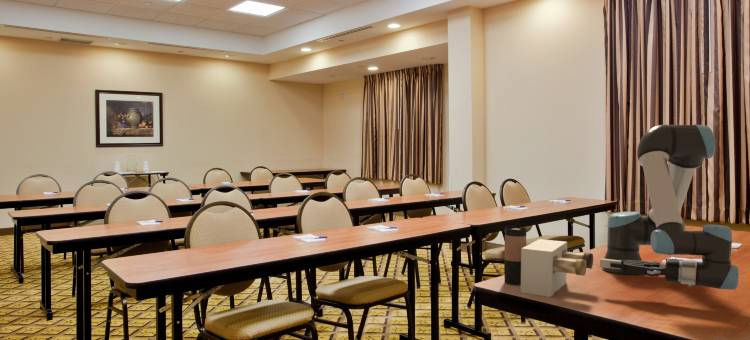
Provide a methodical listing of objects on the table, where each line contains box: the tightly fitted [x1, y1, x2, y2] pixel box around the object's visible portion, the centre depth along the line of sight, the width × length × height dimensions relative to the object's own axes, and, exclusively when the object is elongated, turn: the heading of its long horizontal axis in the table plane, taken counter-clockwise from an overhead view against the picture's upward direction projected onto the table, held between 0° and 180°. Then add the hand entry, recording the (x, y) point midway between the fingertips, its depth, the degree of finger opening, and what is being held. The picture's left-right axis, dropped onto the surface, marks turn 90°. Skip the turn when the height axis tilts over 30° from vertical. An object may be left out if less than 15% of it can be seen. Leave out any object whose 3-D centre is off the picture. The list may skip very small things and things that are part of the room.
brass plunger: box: [553, 257, 587, 277], centre depth 177 cm, size 13×5×5 cm, turn 58°
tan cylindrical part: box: [562, 251, 594, 270], centre depth 187 cm, size 13×5×5 cm, turn 58°
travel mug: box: [503, 226, 527, 286], centre depth 192 cm, size 8×8×20 cm
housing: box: [520, 238, 568, 298], centre depth 186 cm, size 10×22×15 cm, turn 148°
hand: (600, 262), depth 182 cm, fingers closed
